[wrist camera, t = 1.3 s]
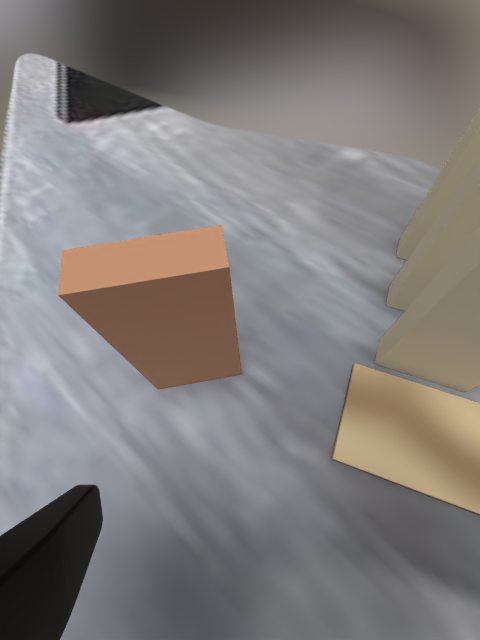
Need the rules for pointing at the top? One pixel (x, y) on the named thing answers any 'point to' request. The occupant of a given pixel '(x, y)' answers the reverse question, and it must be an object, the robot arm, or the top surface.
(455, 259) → the ivory domino
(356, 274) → the top surface
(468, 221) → the ivory domino
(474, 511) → the birch pad
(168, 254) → the terracotta domino
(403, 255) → the ivory domino
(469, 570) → the top surface
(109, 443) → the top surface
